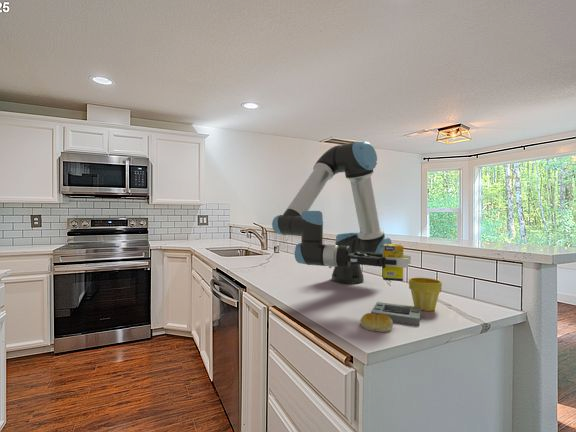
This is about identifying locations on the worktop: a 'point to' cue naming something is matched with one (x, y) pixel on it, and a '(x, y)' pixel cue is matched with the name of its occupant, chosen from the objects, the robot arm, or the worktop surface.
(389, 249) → the supplement box
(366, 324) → the bread roll
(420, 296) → the plant pot
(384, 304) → the socket plate
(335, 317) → the worktop surface
